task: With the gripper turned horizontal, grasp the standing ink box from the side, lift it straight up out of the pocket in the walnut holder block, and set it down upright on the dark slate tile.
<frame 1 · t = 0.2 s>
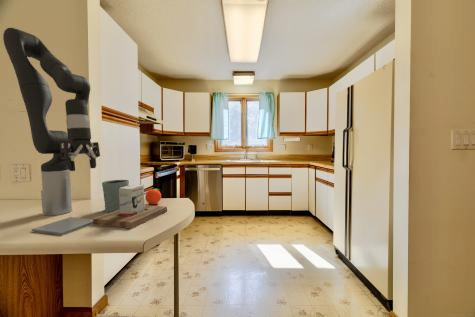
hand: (83, 169, 94), 18 cm above the countertop, tool pointing down, fingers open, 8 cm apart
slate tile: (66, 226, 82), on the countertop
grey cup: (117, 209, 103), on the countertop
walnut holder: (133, 217, 90), on the countertop
clementine: (154, 204, 111), on the countertop
ink box: (133, 218, 90), resting in walnut holder
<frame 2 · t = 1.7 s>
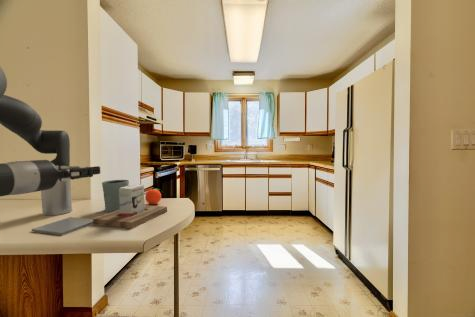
hand: (88, 169, 72), 20 cm above the countertop, tool horizontal, fingers open, 8 cm apart
nothing on the countertop moved.
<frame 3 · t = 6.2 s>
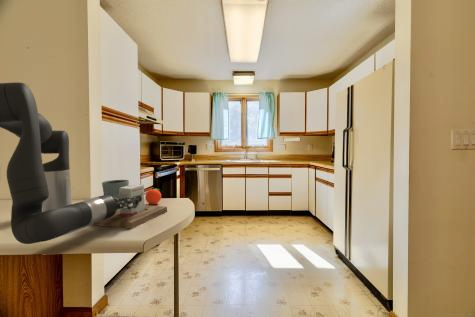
hand: (134, 197, 91), 7 cm above the countertop, tool horizontal, fingers closed on ink box, 5 cm apart
ink box: (133, 218, 90), resting in walnut holder, touching gripper
everything else where it was.
when the fingers open (9 cm above the countertop, at t = 11.9 s): ink box stays where it is, resting on slate tile.
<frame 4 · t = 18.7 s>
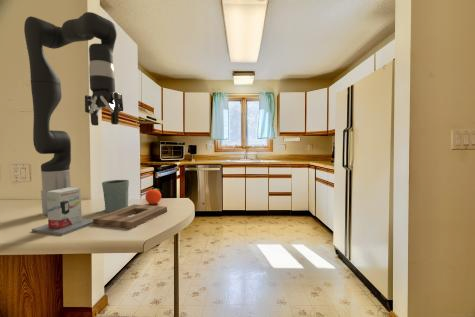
hand: (104, 124, 84), 34 cm above the countertop, tool pointing down, fingers open, 8 cm apart
ink box: (66, 224, 81), point 1 cm above the countertop, touching slate tile
everything else where it was.
at the end: ink box inside the target area on the slate tile (0.2 cm from its centre), point 0.6 cm above the slate tile's base; ink box tilted 0°; the gripper is holding nothing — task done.
